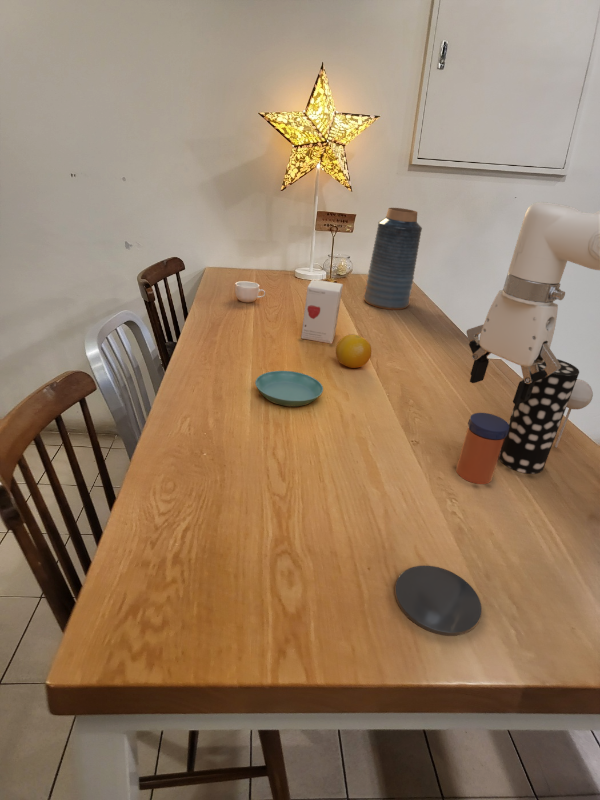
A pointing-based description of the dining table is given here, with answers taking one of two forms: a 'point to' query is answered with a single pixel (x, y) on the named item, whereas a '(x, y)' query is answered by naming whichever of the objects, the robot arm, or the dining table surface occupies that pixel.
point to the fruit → (353, 351)
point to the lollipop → (577, 400)
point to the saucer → (289, 388)
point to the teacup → (247, 291)
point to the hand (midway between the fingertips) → (497, 391)
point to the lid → (488, 426)
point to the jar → (478, 458)
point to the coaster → (438, 600)
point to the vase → (393, 260)
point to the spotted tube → (538, 420)
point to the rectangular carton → (321, 311)
